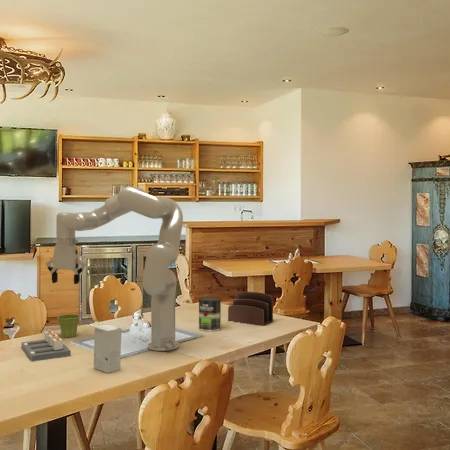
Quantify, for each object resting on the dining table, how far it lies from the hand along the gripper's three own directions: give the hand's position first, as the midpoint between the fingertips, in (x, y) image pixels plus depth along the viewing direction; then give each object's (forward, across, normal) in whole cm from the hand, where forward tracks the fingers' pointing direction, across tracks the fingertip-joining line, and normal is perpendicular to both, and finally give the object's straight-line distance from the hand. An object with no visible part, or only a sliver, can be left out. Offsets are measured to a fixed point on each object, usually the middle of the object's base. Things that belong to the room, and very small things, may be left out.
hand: (65, 283), depth 222 cm
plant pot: (+25, +2, -8) cm, 26 cm away
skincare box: (+24, -33, +33) cm, 52 cm away
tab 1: (+22, +2, +9) cm, 24 cm away
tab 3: (+22, -7, +20) cm, 30 cm away
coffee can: (+24, -55, -31) cm, 68 cm away
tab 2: (+22, -2, +14) cm, 26 cm away
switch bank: (+24, 0, +16) cm, 29 cm away
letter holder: (+23, -72, -49) cm, 90 cm away
